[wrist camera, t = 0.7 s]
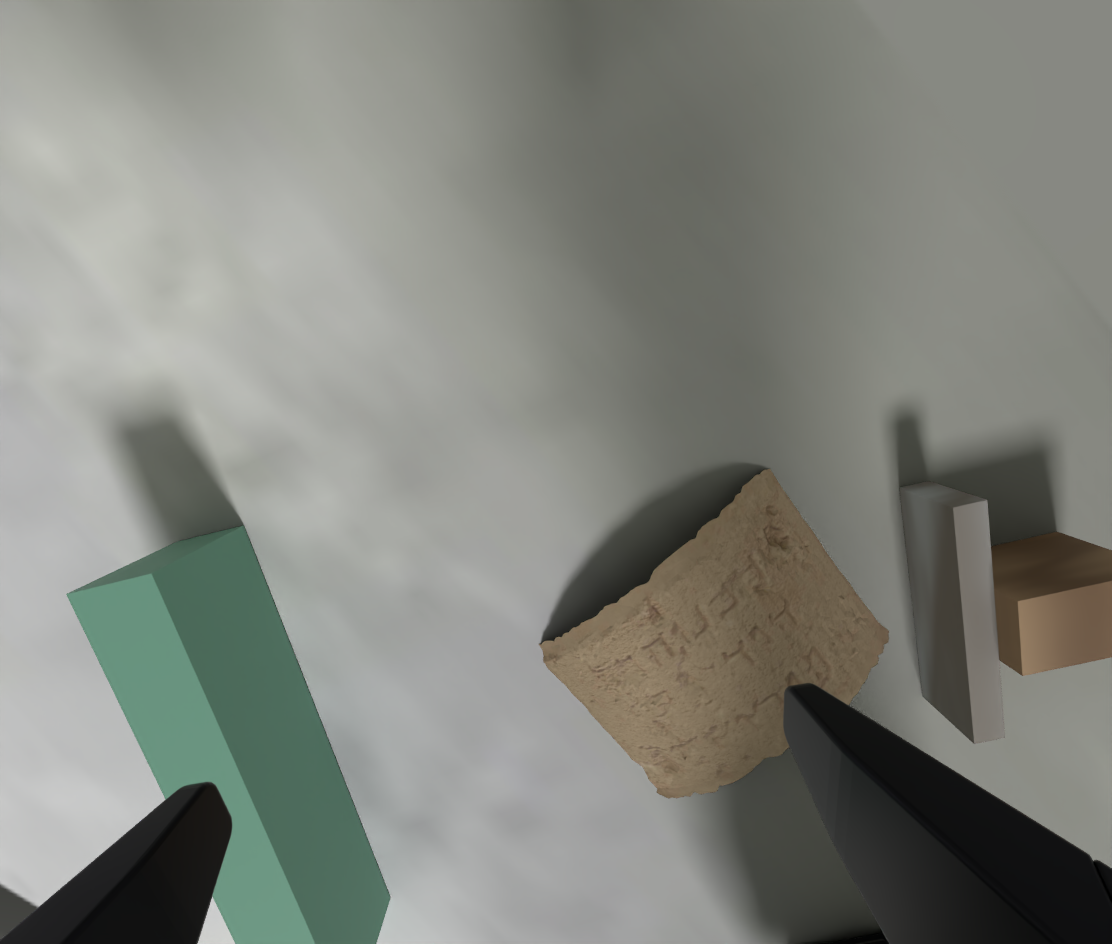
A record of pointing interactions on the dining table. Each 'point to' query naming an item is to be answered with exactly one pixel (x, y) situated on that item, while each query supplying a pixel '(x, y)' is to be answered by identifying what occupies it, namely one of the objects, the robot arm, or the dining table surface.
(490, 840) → the dining table surface
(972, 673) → the tan block on bar
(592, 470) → the dining table surface
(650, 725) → the clay tablet
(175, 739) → the bar
